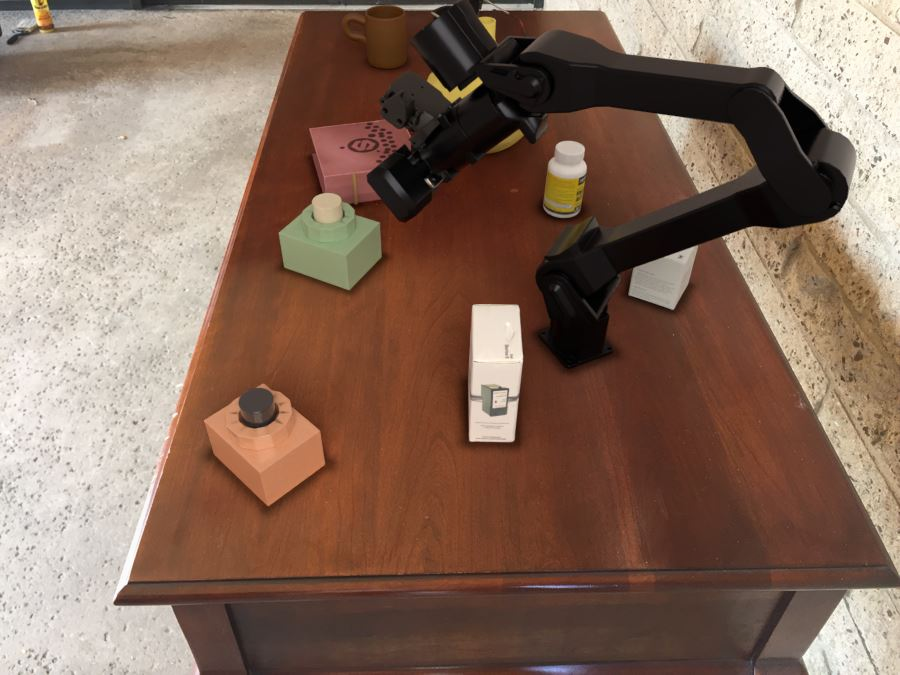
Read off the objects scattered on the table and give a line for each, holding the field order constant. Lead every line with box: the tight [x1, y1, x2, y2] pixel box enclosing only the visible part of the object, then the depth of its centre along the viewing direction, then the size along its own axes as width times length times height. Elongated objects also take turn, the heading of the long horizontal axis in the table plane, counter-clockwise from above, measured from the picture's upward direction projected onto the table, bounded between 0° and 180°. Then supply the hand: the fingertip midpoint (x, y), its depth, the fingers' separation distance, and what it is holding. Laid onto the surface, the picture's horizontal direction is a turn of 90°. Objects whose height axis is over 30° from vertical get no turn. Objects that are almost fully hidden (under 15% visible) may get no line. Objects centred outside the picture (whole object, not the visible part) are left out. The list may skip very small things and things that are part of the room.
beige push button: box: [311, 192, 343, 224], centre depth 96 cm, size 4×4×2 cm
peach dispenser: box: [203, 383, 326, 507], centre depth 75 cm, size 9×7×7 cm
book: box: [308, 119, 412, 205], centre depth 116 cm, size 14×15×5 cm
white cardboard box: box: [628, 245, 699, 311], centre depth 96 cm, size 6×6×7 cm
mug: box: [340, 4, 408, 70], centre depth 145 cm, size 12×8×9 cm, turn 92°
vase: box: [426, 16, 525, 155], centre depth 120 cm, size 18×18×19 cm
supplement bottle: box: [542, 140, 588, 219], centre depth 109 cm, size 5×5×10 cm
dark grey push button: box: [238, 387, 277, 428], centre depth 73 cm, size 3×3×2 cm
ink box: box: [467, 303, 524, 443], centre depth 79 cm, size 9×5×12 cm, turn 0°
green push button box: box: [278, 202, 383, 291], centre depth 99 cm, size 10×8×8 cm
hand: (388, 190), depth 90 cm, fingers closed
